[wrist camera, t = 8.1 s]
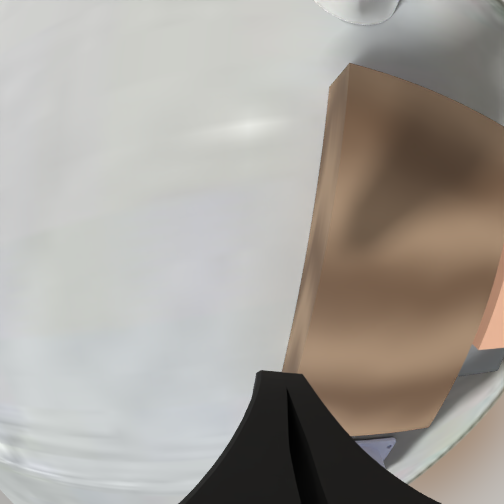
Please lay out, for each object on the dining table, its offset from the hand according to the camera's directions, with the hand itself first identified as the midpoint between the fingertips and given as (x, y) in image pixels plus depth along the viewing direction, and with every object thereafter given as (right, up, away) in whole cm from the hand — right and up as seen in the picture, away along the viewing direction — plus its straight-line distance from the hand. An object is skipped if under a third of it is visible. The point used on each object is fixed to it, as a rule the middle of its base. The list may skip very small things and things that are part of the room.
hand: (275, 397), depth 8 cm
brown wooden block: (+8, +3, +9) cm, 12 cm away
